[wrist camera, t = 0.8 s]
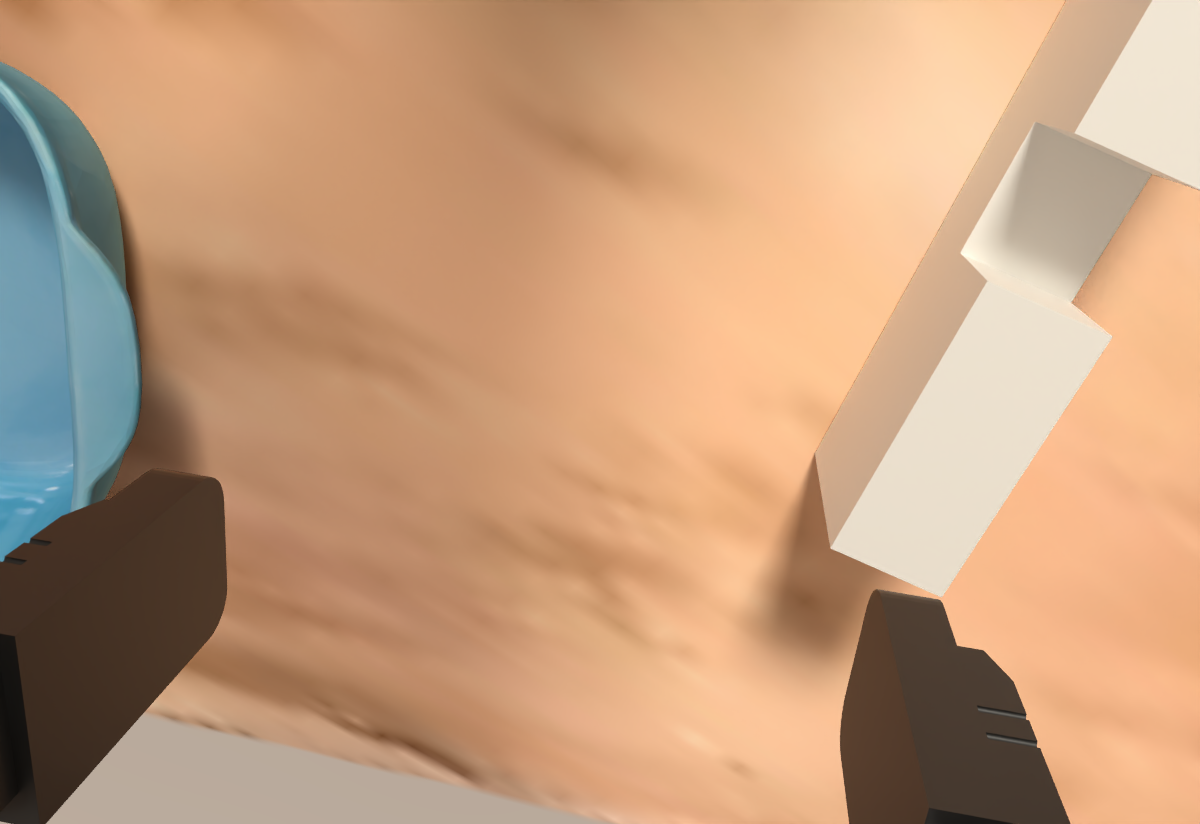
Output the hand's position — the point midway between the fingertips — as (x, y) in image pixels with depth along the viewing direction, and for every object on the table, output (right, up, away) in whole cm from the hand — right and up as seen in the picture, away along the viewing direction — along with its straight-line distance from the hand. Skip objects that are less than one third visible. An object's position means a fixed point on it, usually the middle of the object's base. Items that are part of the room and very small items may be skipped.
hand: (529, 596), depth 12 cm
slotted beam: (+16, +10, +23) cm, 30 cm away
